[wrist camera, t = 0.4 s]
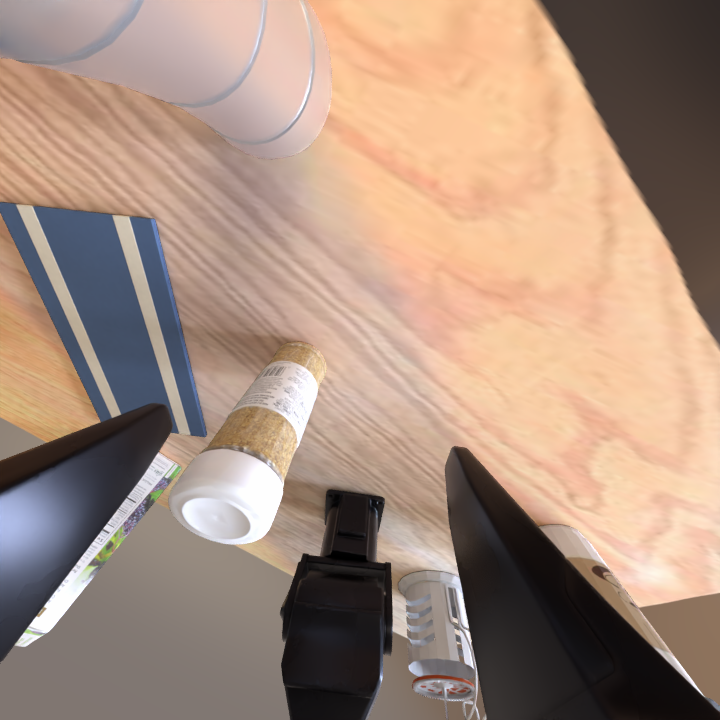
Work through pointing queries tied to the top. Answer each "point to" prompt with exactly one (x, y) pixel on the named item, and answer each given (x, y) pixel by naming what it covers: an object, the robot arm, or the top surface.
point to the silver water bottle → (192, 59)
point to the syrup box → (104, 545)
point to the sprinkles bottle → (251, 452)
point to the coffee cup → (609, 587)
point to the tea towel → (110, 307)
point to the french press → (439, 638)
